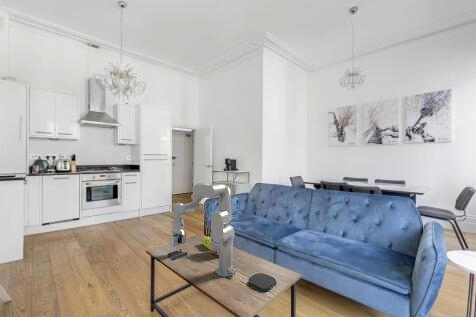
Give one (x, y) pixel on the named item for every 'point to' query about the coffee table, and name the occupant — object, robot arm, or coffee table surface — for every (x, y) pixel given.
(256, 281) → the media streaming box
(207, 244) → the yellow toy chassis
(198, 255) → the coffee table surface
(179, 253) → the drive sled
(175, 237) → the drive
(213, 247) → the cracker box
